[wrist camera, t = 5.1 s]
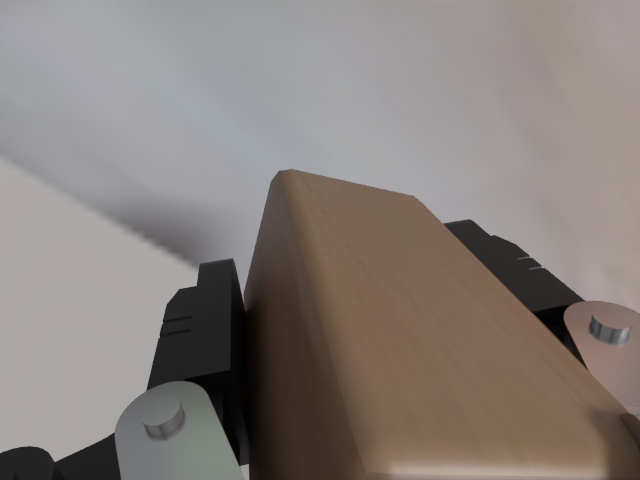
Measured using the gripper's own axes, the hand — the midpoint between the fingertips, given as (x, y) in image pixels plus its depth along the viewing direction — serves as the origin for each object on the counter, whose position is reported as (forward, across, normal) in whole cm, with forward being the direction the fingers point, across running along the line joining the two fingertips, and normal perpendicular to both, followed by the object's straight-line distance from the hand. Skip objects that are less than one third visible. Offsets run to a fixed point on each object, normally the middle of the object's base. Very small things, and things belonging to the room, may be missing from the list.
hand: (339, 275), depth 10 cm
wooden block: (+2, 0, 0) cm, 2 cm away
